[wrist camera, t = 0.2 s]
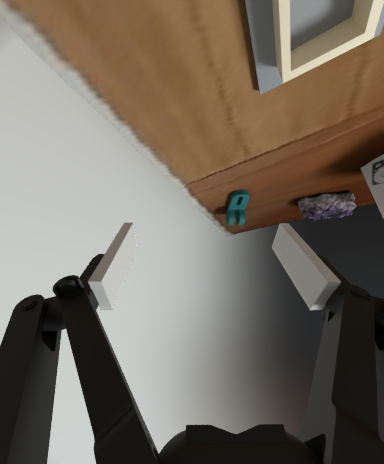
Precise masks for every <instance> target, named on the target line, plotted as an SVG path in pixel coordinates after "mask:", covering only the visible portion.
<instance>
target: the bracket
mask: <svg viewBox="0 0 384 464" xmlns="http://www.w3.org/2000/svg"><path fill="white" fill-rule="evenodd" d="M239 197H241V199H240V201H238V199H239ZM249 198H250V197H249V192H248V191H247V190H237V191H235V192H234V193H232V195H231V198H230V201H229V205H228V208H227V211H226V220H227V225H234V219H235V217H236V222H237V225H244V223H245V211H244V209H245V207H246V205H247V203H248V201H249Z"/></svg>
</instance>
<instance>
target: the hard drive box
mask: <svg viewBox="0 0 384 464" xmlns="http://www.w3.org/2000/svg"><path fill="white" fill-rule="evenodd" d="M360 169H361V171H362V173H363V175H364V177H365V180H366V182H367V184H368V186H369V188H370V191H371V193H372V195H373V197H374V199H375V201H376V204H377V206H378V208H379V210H380V212H381V214H382V216H383V218H384V154H383V155H381V156H379V157H378V158H375V159H374V160H372V161H371V162H369V163H368V164H366V165H365V166H363V167H361V168H360Z"/></svg>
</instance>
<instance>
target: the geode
mask: <svg viewBox="0 0 384 464" xmlns="http://www.w3.org/2000/svg"><path fill="white" fill-rule="evenodd" d="M354 201H355V197H354V195H353V193H352V192H347V193H341V194H336V193H323V194H320V195H318V196H315V197H304V198H302V199H299V200H298V201H297V202H298V204H299V205H298V206H299V209H300V210H301V213H302V215H303V217H308V218H311V219H314V220H316V219H318V220H319V219H320V218H321V219H324V218H328V219H329V218H336V217H340V218H342V217H343V216H344V215H345V216H348V215H352V210H353V209H354V208H355V207H356V204H355V203H354Z"/></svg>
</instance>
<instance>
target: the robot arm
mask: <svg viewBox="0 0 384 464" xmlns="http://www.w3.org/2000/svg"><path fill="white" fill-rule="evenodd" d="M137 248H138V245H137V240H136V235H135V230H134V226H133V223H124V224H123V226H122V227H121V229H120V231H119V233H118V234H117V235H116V237H115V239H114V240H113V242H112V243H111V245H110V247H109V249H108V250H107V252H106V253H105V254H98V255H97V256H95V257H94V258H93V259H92V260H91V262H90V263H89V265H88V266H87V268H86V269H85V270H84V272H83V273H82V275H81V276H80V278H79V277H78V276H75V275H72V276H67V277H64V278H62V279H60V280H59V281H58V282H57V283H55V285H54V286H53V292H54V293H55V295H56V296H55V297H52V298H47V299H44V297H43V296H41V295H32V296H29V297H27V298H25V299H23V300H22V301H20V302H19V303H18V304H17V305H16V306H15V308H14V310H13V313H12V316H11V318H10V321H9V324H8V326H7V329H6V332H5V334H4V337H3V340H2V343H1V345H0V464H47V457H48V449H49V439H50V430H51V421H52V412H53V403H54V394H55V385H56V376H57V367H58V358H59V349H60V339H61V330H63V329H67V333H68V337H69V341H70V345H71V349H72V353H73V356H74V360H75V364H76V368H77V372H78V376H79V380H80V384H81V387H82V391H83V395H84V399H85V403H86V407H87V411H88V414H89V418H90V422H91V426H92V430H93V434H94V439H95V442H94V454H95V459H96V464H384V442H383V441H382V440H381V439H380V437H379V432H378V408H377V383H376V364H377V367H378V370H379V373H380V376H381V379H382V382H383V385H384V299H382V298H378V297H374V296H371V295H370V294H369V293H368V292H367V291H366V290H364V289H362V288H360V287H358V286H355V285H351V284H350V283H349V282H348V281H347V280H346V279H345V278H344V277H343V276H342V275H341V274H340V273H339V272H338V270H336V268H335V267H334V266H333V265H332V264H331V263H330V262H329V261H328V260H327V259H326V258H324V257H323V256H321V255H320V254H315V253H314V252H313V250H312V249H310V247H309V246H308V245H307V244H306V243H305V242H304V240H303V239H302V238H301V237H300V236H299V235H298V234H297V233H296V232H295V231H294V230H293V228H291V226H290V225H289V224H279V227H278V230H277V233H276V237H275V240H274V243H273V245H272V249H273V251H274V252H275V254H276V255H277V257H278V259H279V260H280V262H281V263H282V265H283V267H284V268H285V270H286V272H287V273H288V275H289V277H290V278H291V280H292V281H293V283H294V285H295V286H296V288H297V290H298V291H299V293H300V294H301V296H302V298H303V299H304V301H305V302H306V304H307V306H308V307H309V309H310V310H322V308H323V307H324V306H325V304H326V306H327V307H328V308H329V310H328V311H327V313H326V314H325V315H324V317H323V318H322V320H324V319H325V318H326V319H325V324H324V329H323V333H322V339H321V344H320V348H319V353H318V358H317V363H316V367H315V373H314V377H313V382H312V387H311V392H310V397H309V401H308V407H307V412H306V416H305V419H304V422H303V424H302V426H301V428H300V430H299V433H298V437H295V436H294V435H292V434H290V433H288V432H286V431H285V429H284V425H283V424H272V425H271V424H268V425H267V424H265V425H257V426H255V427H253V428H251V429H248V430H246V431H244V432H241V433H239V434H233V433H230V432H228V431H225V430H222V429H219V428H217V427H214V426H212V425H186V430H185V431H183V432H180V433H179V434H177V435H176V436H174V437H173V438H172V439H171V440H170V441H169V442H168V443H167V444H166V445H165V446H164V447H163V449H162V450H161V452H160V453H159V454H158V451H157V449H156V447H155V445H154V442H153V440H152V438H151V435H150V433H149V431H148V429H147V427H146V425H145V422H144V421H143V418H142V416H141V413H140V411H139V409H138V406H137V404H136V402H135V399H134V397H133V395H132V393H131V390H130V388H129V386H128V383H127V381H126V379H125V376H124V374H123V372H122V370H121V367H120V365H119V363H118V360H117V358H116V356H115V353H114V351H113V349H112V346H111V344H110V342H109V340H108V337H107V335H106V333H105V330H104V328H103V326H102V323H101V321H100V319H99V316H98V314H97V312H96V309H97V307H98V305H99V307H100V309H101V310H113V308H114V306H115V303H116V300H117V298H118V295H119V293H120V290H121V288H122V286H123V283H124V281H125V278H126V275H127V273H128V271H129V268H130V266H131V263H132V261H133V258H134V256H135V253H136V251H137Z"/></svg>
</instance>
